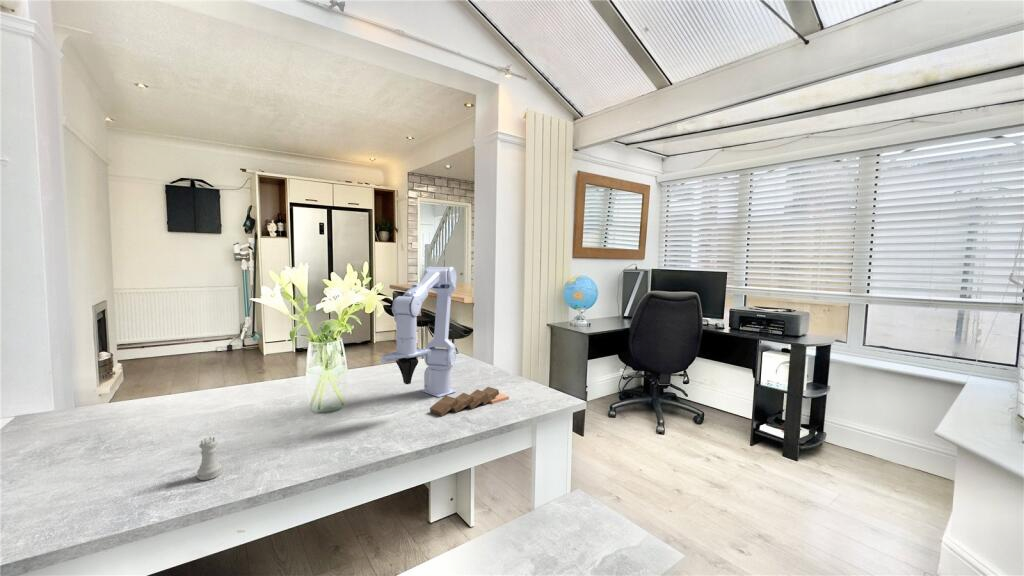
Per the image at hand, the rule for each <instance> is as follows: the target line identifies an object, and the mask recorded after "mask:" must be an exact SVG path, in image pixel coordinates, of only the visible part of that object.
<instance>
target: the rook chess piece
mask: <svg viewBox="0 0 1024 576" xmlns="http://www.w3.org/2000/svg"><path fill="white" fill-rule="evenodd" d="M218 443H219V441H218V440H217V439H216V437H215V436H214V437H213V436H209V438H208V437H206V438H204V439H201V441H200V444H199V448H200V449H201V451H200V454H201V463H200V465H199V468H198V469H197V476H196V478H197V479H198V480H199V481H210V480H212V479H213V478H214V479H216V478H217V476H218V477H219V476H220V475H221V474H222V473H223V469H222V467H223V466H222V463H220V460H219V461H218V457H217V450H218V449H217V447H216V446H217V445H218ZM215 477H216V478H215ZM209 479H210V480H209Z"/></svg>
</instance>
